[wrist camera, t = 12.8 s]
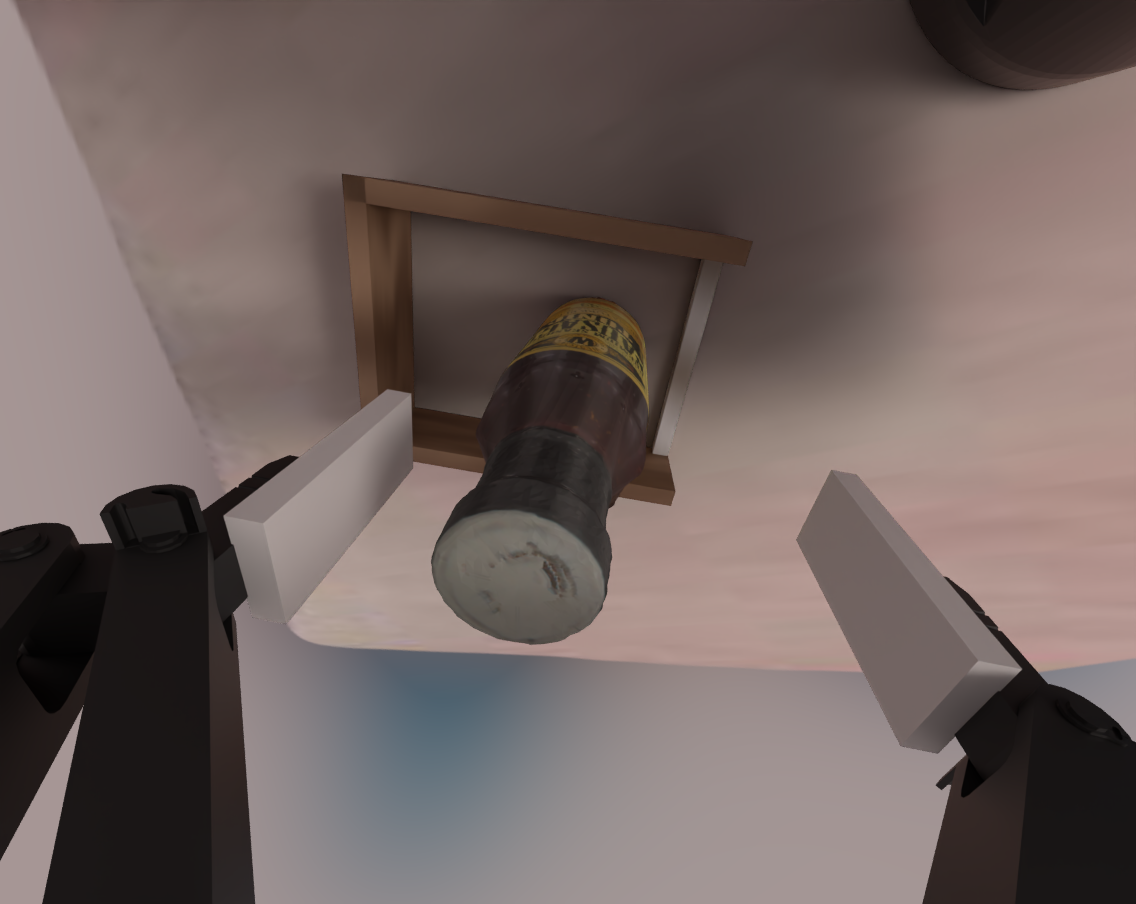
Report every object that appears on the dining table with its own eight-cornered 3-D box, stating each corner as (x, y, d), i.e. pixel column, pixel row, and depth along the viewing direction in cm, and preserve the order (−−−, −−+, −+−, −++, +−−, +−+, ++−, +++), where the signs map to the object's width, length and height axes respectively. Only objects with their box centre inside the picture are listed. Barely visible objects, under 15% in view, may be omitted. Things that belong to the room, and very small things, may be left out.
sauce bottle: (655, 303, 26) (735, 502, 8) (630, 403, 29) (650, 703, 11) (542, 281, 26) (388, 435, 8) (528, 384, 29) (394, 653, 11)
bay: (391, 180, 24) (341, 173, 20) (727, 235, 24) (752, 241, 20) (400, 418, 31) (364, 453, 26) (663, 463, 31) (670, 505, 26)
